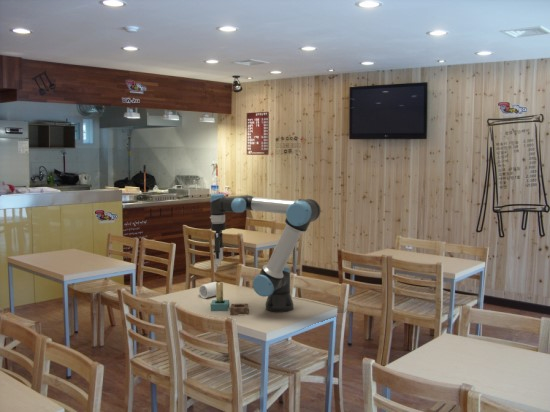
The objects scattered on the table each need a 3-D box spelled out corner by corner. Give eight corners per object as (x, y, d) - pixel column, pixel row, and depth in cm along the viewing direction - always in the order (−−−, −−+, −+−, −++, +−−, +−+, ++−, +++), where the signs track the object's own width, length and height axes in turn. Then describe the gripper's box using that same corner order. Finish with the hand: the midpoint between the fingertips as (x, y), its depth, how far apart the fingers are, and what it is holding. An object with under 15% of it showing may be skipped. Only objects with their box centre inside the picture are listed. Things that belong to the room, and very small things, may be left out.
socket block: (229, 306, 315) (229, 299, 314) (227, 310, 306) (227, 304, 305) (212, 306, 315) (212, 300, 314) (210, 310, 306) (210, 304, 305)
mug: (220, 296, 337) (220, 282, 336) (207, 299, 329) (207, 285, 329) (207, 292, 345) (207, 279, 344) (194, 296, 338) (194, 282, 337)
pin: (223, 307, 312) (223, 282, 311) (223, 309, 308) (222, 283, 307) (217, 307, 312) (216, 282, 311) (216, 309, 308) (215, 283, 307)
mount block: (248, 309, 307) (248, 303, 306) (247, 314, 298) (247, 308, 297) (231, 310, 307) (231, 303, 306) (230, 314, 298) (230, 308, 297)
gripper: (213, 220, 318) (214, 257, 320) (208, 225, 293) (209, 266, 295) (227, 219, 318) (228, 257, 320) (222, 225, 293) (224, 266, 295)
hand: (219, 262), depth 308 cm, fingers open, 13 cm apart
